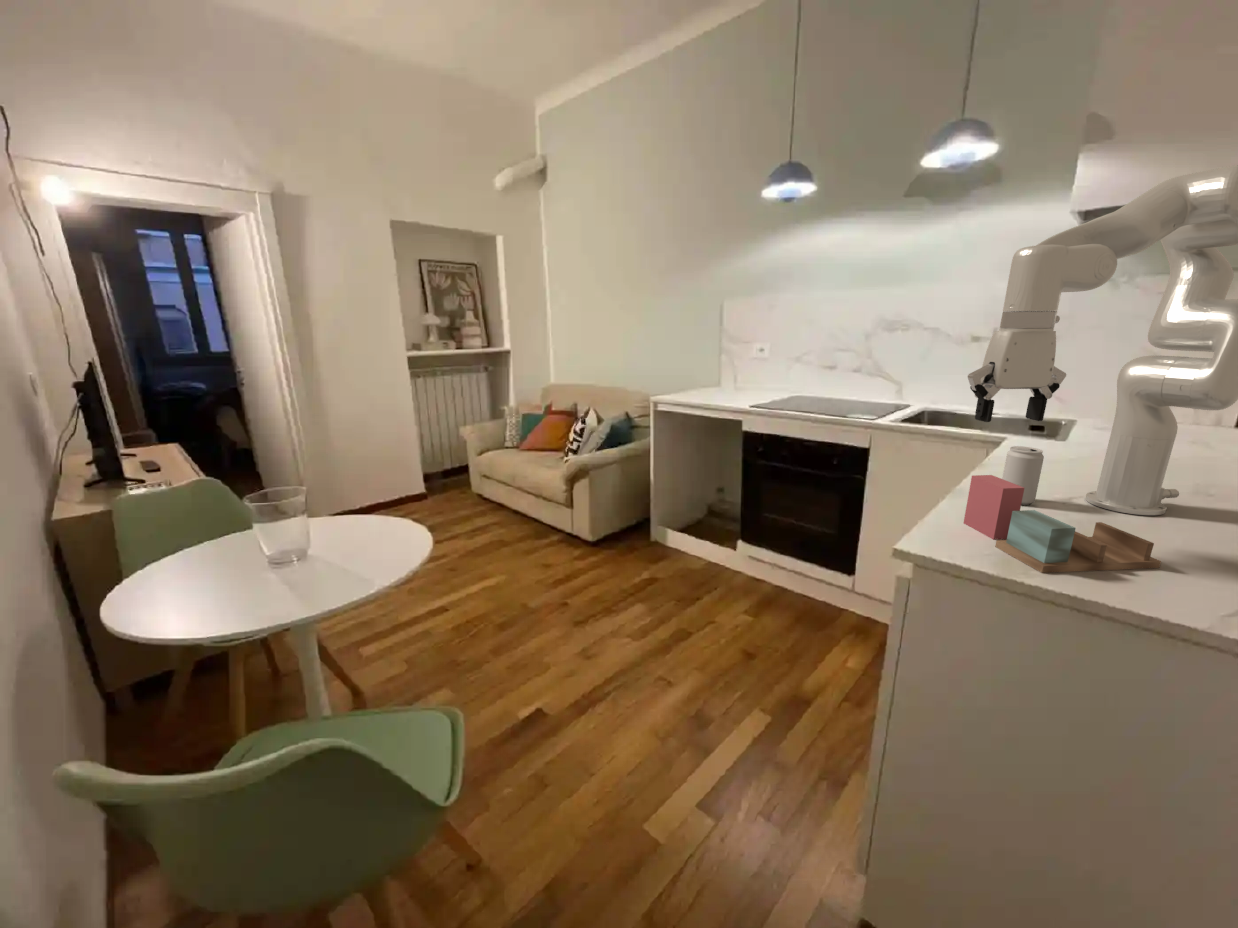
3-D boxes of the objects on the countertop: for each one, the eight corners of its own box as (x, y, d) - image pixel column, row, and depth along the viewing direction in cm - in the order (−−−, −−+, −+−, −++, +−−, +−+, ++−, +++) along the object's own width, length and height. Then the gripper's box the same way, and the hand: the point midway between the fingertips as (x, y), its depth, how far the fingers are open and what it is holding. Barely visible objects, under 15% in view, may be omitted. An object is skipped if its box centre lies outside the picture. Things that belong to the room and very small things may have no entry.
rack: (1101, 542, 94) (1110, 505, 92) (1159, 567, 85) (1171, 526, 83) (995, 546, 93) (1002, 509, 91) (1041, 572, 84) (1051, 531, 82)
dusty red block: (982, 522, 104) (991, 474, 102) (1014, 538, 97) (1024, 487, 94) (963, 523, 104) (971, 475, 101) (993, 539, 96) (1003, 488, 94)
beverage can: (1035, 507, 111) (1047, 453, 108) (999, 502, 115) (1009, 450, 111) (1032, 499, 117) (1043, 447, 113) (997, 494, 120) (1007, 444, 117)
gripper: (1056, 322, 94) (1036, 415, 98) (963, 323, 93) (948, 417, 98) (1095, 322, 87) (1072, 423, 91) (995, 323, 86) (977, 425, 90)
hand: (1008, 420), depth 94 cm, fingers open, 9 cm apart
